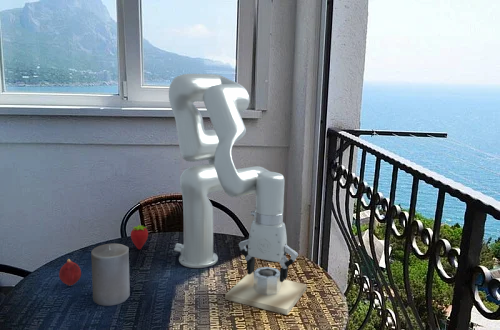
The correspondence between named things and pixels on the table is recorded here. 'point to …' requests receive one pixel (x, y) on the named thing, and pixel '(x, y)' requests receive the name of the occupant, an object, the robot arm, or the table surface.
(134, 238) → the strawberry
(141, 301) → the table surface
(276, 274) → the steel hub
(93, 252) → the pillar candle
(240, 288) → the post board
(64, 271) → the onion
